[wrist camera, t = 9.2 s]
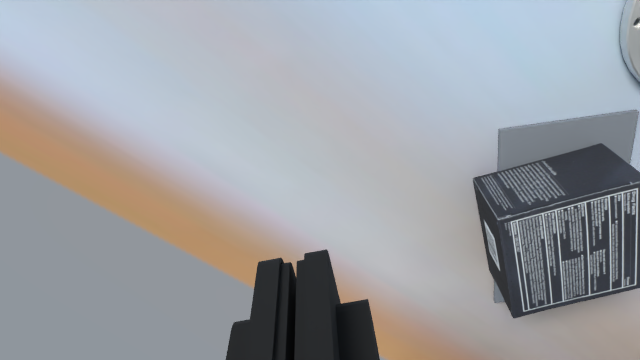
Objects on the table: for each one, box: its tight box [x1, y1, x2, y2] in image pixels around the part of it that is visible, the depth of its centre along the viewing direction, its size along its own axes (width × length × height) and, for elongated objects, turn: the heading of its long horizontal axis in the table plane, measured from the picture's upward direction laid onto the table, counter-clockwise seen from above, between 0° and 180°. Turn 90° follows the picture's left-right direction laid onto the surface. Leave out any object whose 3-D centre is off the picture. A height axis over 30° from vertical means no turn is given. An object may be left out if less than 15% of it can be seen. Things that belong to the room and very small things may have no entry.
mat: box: [494, 110, 639, 303], centre depth 41 cm, size 10×18×1 cm, turn 9°
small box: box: [473, 143, 640, 318], centre depth 38 cm, size 11×6×10 cm
